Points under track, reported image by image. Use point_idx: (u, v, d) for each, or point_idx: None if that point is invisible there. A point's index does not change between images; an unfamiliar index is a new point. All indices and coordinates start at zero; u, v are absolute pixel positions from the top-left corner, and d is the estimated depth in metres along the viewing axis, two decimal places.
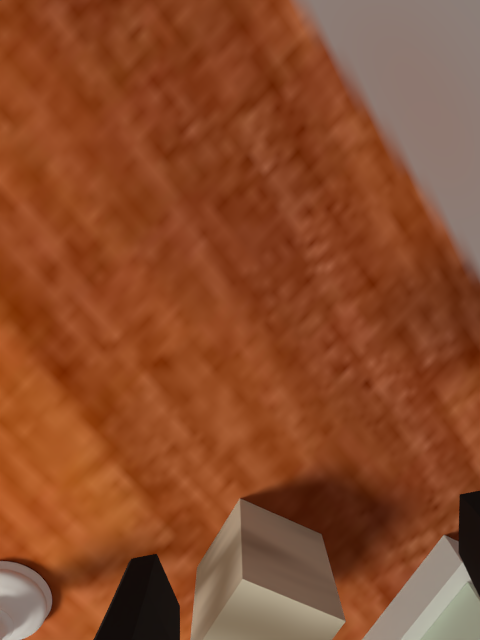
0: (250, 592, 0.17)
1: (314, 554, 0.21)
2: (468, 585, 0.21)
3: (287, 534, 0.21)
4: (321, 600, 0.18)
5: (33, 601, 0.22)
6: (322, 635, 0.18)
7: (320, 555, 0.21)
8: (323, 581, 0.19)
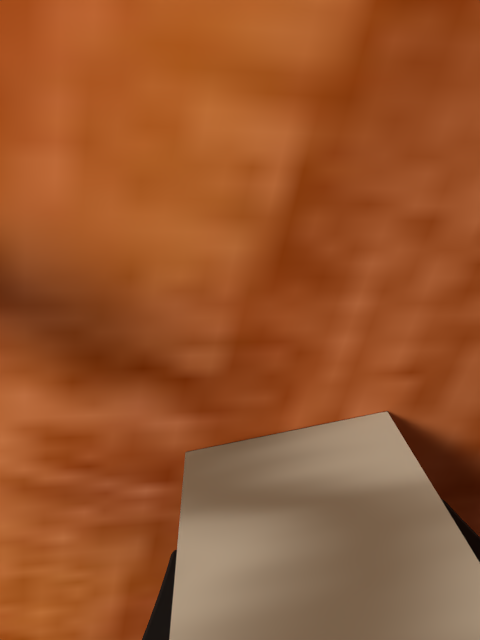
0: None
1: None
2: None
3: None
4: None
5: None
6: None
7: None
8: None
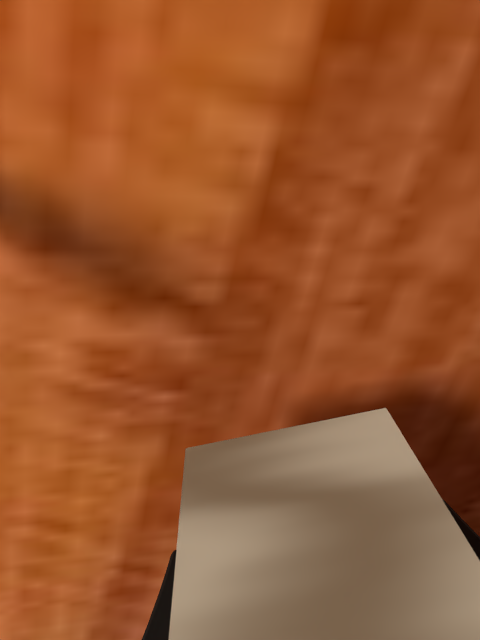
0: None
1: None
2: None
3: None
4: None
5: None
6: None
7: None
8: None
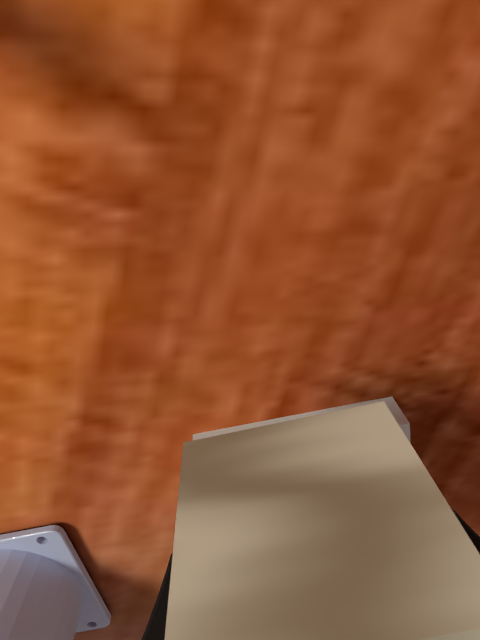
0: None
1: None
2: None
3: None
4: None
5: None
6: None
7: None
8: None
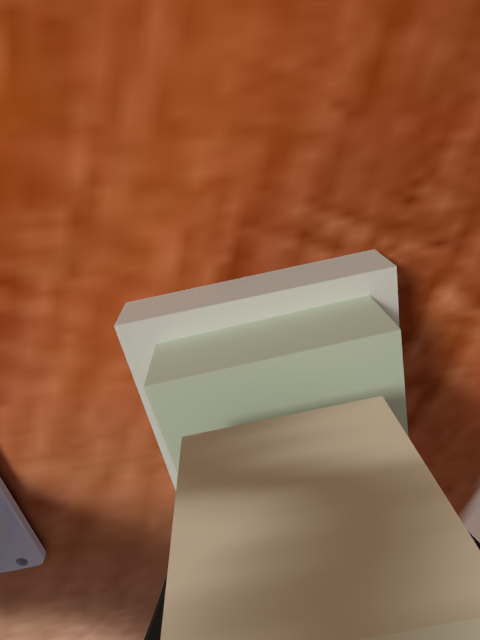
0: None
1: None
2: (369, 296, 0.13)
3: None
4: None
5: None
6: None
7: None
8: None
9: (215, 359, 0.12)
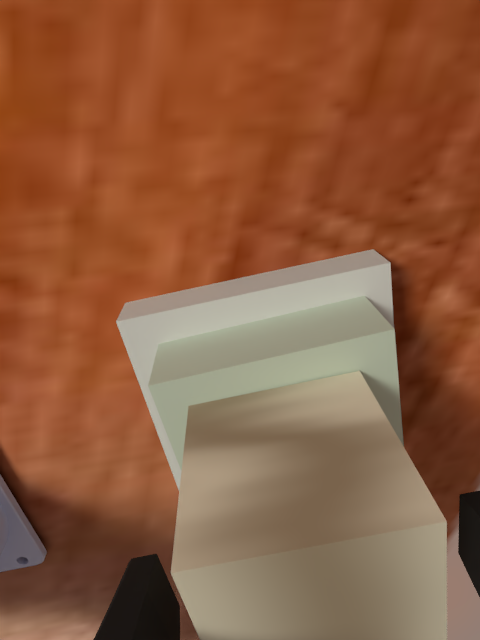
0: (419, 549, 0.08)
1: None
2: (365, 297, 0.14)
3: None
4: None
5: None
6: None
7: None
8: None
9: (217, 359, 0.12)
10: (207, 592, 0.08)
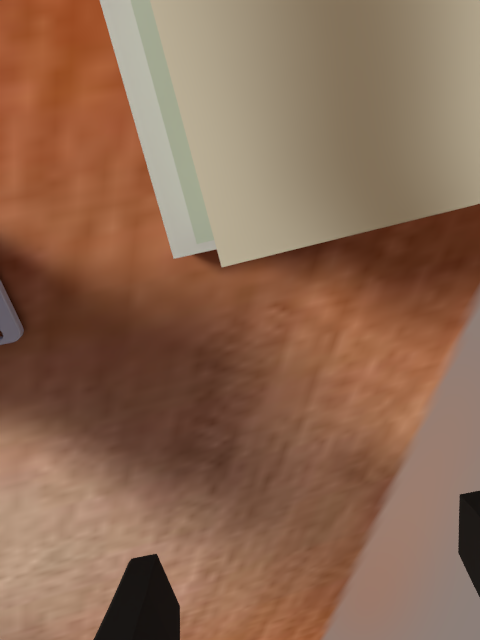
0: None
1: None
2: None
3: None
4: None
5: None
6: (422, 192, 0.08)
7: None
8: None
9: None
10: None
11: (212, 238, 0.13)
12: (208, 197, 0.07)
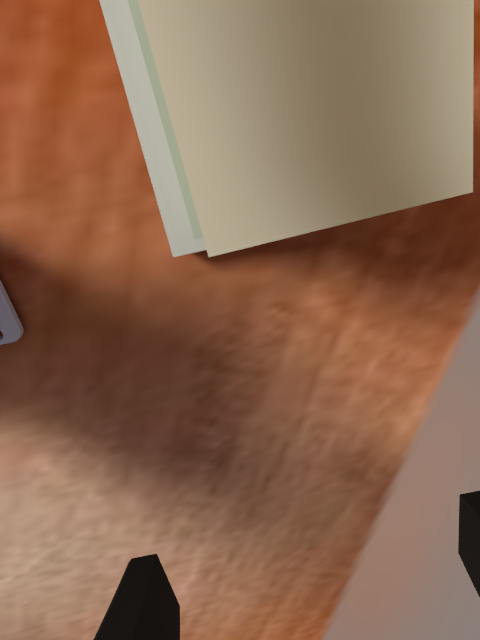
0: None
1: None
2: None
3: None
4: None
5: None
6: (410, 181, 0.08)
7: None
8: None
9: None
10: None
11: None
12: (194, 186, 0.07)
